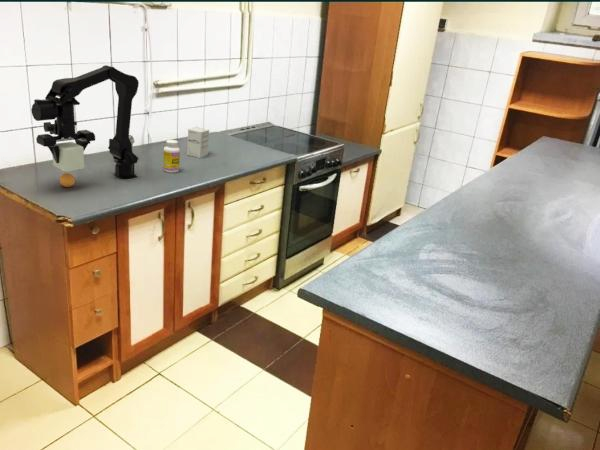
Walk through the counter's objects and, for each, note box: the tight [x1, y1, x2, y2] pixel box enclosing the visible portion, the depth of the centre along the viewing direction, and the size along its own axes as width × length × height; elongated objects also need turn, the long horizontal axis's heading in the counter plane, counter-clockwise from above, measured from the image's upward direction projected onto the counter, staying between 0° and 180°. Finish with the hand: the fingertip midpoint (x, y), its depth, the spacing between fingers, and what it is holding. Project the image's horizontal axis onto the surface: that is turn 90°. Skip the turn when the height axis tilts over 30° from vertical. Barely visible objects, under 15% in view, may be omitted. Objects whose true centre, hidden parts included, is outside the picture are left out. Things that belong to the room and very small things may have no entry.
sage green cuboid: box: [52, 141, 85, 172], centre depth 182 cm, size 8×8×8 cm
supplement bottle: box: [162, 139, 181, 174], centre depth 216 cm, size 7×7×13 cm
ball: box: [59, 172, 76, 188], centre depth 187 cm, size 5×5×5 cm
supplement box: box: [186, 126, 210, 159], centre depth 242 cm, size 7×7×13 cm
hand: (68, 161), depth 183 cm, fingers closed on sage green cuboid, 7 cm apart
